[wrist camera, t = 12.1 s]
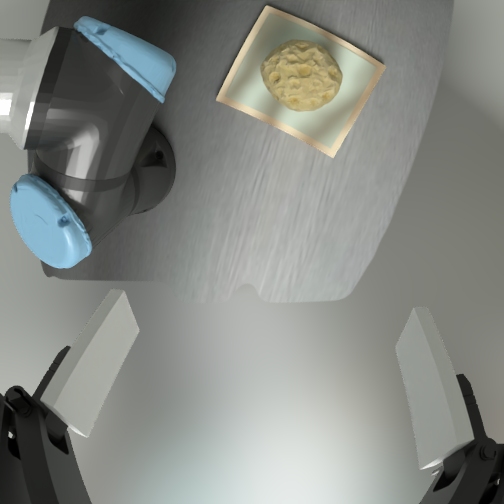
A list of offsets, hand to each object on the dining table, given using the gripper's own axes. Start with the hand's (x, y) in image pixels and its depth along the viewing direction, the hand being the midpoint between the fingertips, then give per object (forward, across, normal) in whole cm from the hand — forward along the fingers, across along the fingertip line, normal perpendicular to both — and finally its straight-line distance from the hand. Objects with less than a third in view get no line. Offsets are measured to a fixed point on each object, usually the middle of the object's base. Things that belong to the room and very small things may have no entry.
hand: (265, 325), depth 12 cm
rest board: (+31, +3, +12) cm, 34 cm away
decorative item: (+30, +3, +12) cm, 33 cm away
